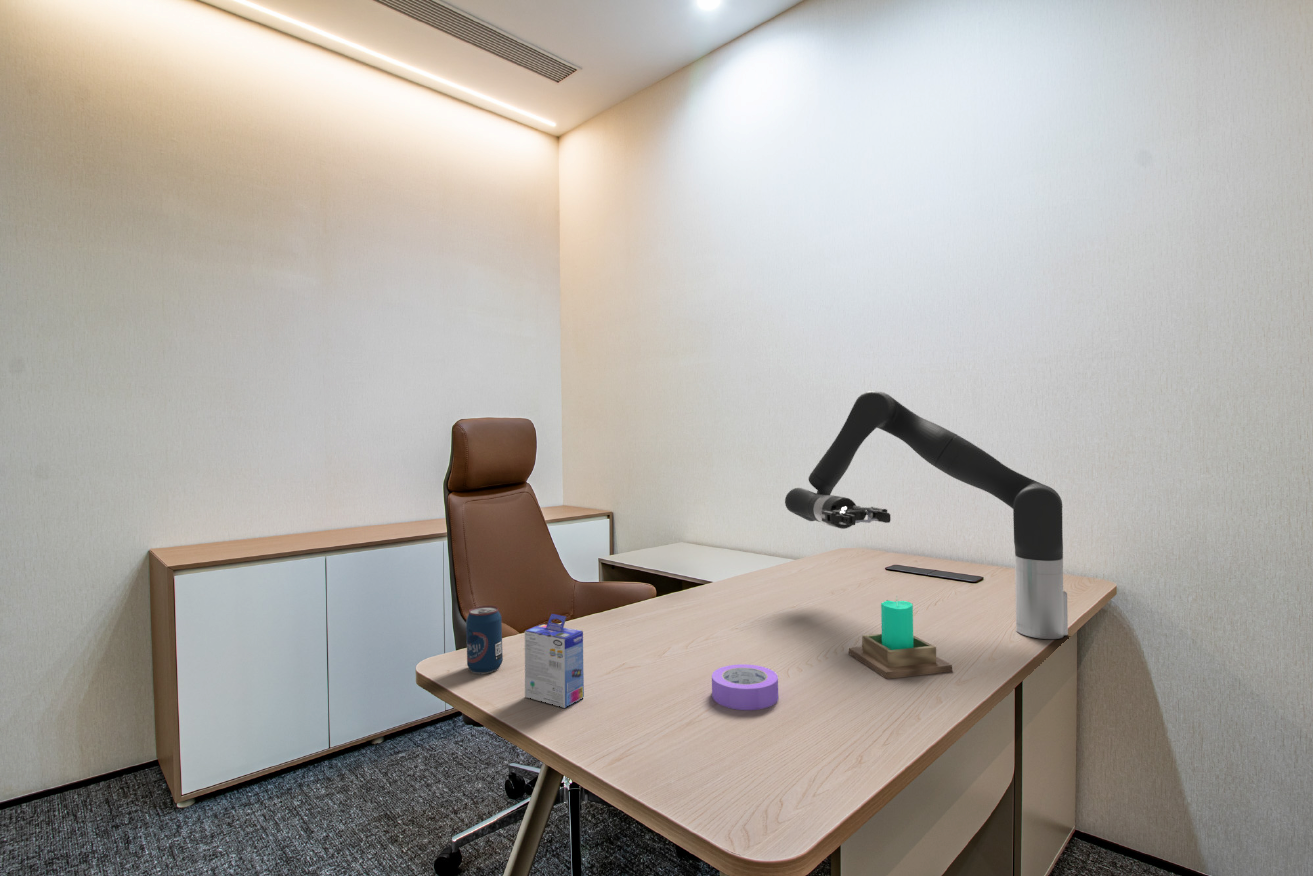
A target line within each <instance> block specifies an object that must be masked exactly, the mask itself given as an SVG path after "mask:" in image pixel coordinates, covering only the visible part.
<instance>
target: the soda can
mask: <svg viewBox="0 0 1313 876" xmlns="http://www.w3.org/2000/svg"><path fill="white" fill-rule="evenodd" d="M465 623H466V624H465V627H466V628H465V631H466V632H465V633H466V634H465V635H466V662H467V663H466V665H467V667H468V669H469V670H470V672H471V671H472V672H471V673H473V674H476V673H479V674H478V675H483V674H482V673H486V674H491V673H494V672H497V671H498V670H499V669H500V667H501V665H502V663H503V660H504V659H503V658H504V657H503V630H502V629H503V628H502V627H503V626H502V624H503V623H502V615H501V613H500V612H499V607H497V606H496V605H495V606H494V605H482V606H475V607H473V608H471V609H469V610H468V615H467V616H466V619H465ZM497 669H498V670H497ZM493 671H494V672H493ZM480 673H481V674H480Z"/></svg>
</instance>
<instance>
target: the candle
mask: <svg viewBox="0 0 1313 876" xmlns="http://www.w3.org/2000/svg"><path fill="white" fill-rule="evenodd" d="M880 603H881V604H880V611H881V612H880V613H881V614H880V615H881V616H880V617H881V620H880V622H881V634H882V645H883V646H885V647H887V648H888V649H890V650H898V649H907V648H914V645H913V635H914V606H913V603H911V602H909V601H907V600H906V601H905V600H899V601H898V596H897V595H896V601H893V600H888V599H887V600H885V601H883V602H880Z"/></svg>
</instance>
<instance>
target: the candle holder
mask: <svg viewBox="0 0 1313 876" xmlns="http://www.w3.org/2000/svg"><path fill="white" fill-rule="evenodd" d="M861 638H862V639H861V646H854V647H852V646H851V647H848V654H849V655H850V654H851V655H850V656H851V657H853V658H855V659H856V658H857V659H856V660H858V661H859V662H861V663H862V664H863V665H865V666H867V667H868V668H869V669H871V670H873V671H874V672H876V673H877V674H879V675H880V676H882V677H883V678H885V679H887V680H891V679H897V678H898V679H899V678H906V677H916V676H923V675H924V676H925V675H930V674H931V675H933V674H940V673H941V674H942V673H948V672H949V673H950V672H953V664H951V663H949V662H947V661H946V660H944V659H942V658H939V657H938V656H937V646H935V645H934V644H931V643H929V642H927V641H926V640H923V639H921V638H919V637H917V636H915V635H914V634H913V645H914V648H907V649H898V650H890V649H888V648H887V647H885V646H883V645H882V633H874V634H864V635H862V636H861Z"/></svg>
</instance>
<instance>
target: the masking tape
mask: <svg viewBox="0 0 1313 876" xmlns="http://www.w3.org/2000/svg"><path fill="white" fill-rule="evenodd" d="M778 677H779V676H778V674H777V673H776V672H775V671H774V670H772V669H771V668H768V667H765V666H761V665H756V664H746V663H745V664H742V663H739V664H730V665H726V666H721V667H719V668H717V669H716V670H714V671H713V672H712V673H711V697H712V699H713V700H714V702H716V703H717V704H718V705H720V706H723V707H725V708H728V709H732V710H738V711H757V710H764V709H767V708H770V707H772V706H774V705H775V704H776V703H777V702H778V700H779V678H778Z"/></svg>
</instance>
